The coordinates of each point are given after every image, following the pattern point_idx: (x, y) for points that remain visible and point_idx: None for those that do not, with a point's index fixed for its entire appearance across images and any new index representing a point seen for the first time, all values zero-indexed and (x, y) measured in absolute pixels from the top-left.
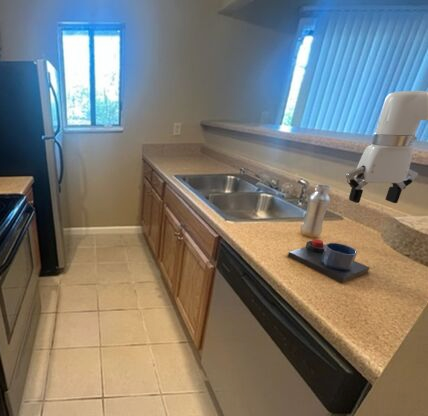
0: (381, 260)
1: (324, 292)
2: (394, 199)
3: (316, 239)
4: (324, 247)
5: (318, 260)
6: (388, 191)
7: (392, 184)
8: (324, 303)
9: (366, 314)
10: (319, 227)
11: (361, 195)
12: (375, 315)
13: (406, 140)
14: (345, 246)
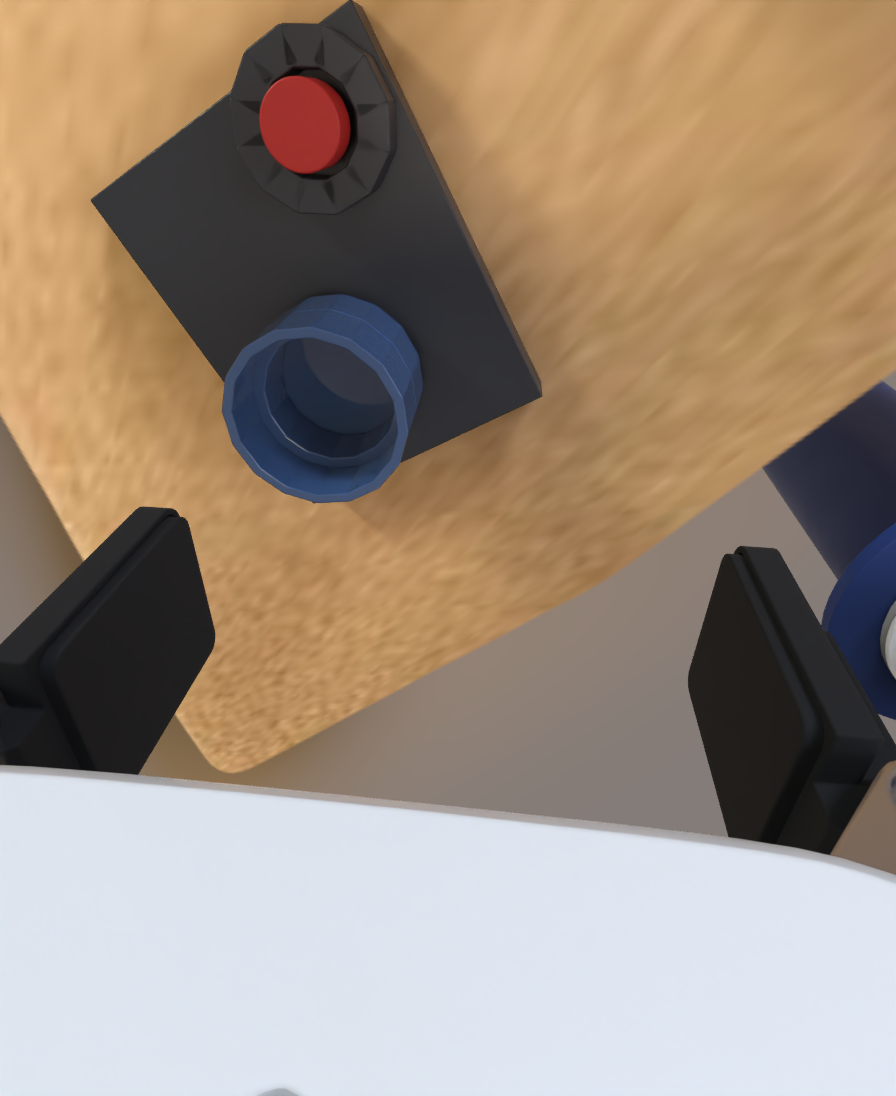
0: (800, 203)
1: (209, 548)
2: (702, 709)
3: (298, 83)
4: (349, 180)
5: (259, 327)
6: (771, 665)
7: (836, 841)
8: None
9: (304, 652)
10: None
11: (165, 728)
12: (332, 656)
13: None
14: (378, 373)
